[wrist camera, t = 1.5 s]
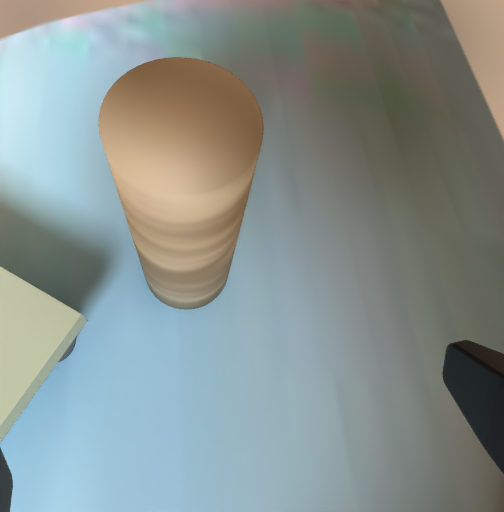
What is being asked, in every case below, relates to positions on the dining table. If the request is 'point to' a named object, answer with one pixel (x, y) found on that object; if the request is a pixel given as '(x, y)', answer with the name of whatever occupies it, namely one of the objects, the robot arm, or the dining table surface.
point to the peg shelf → (30, 342)
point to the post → (182, 170)
